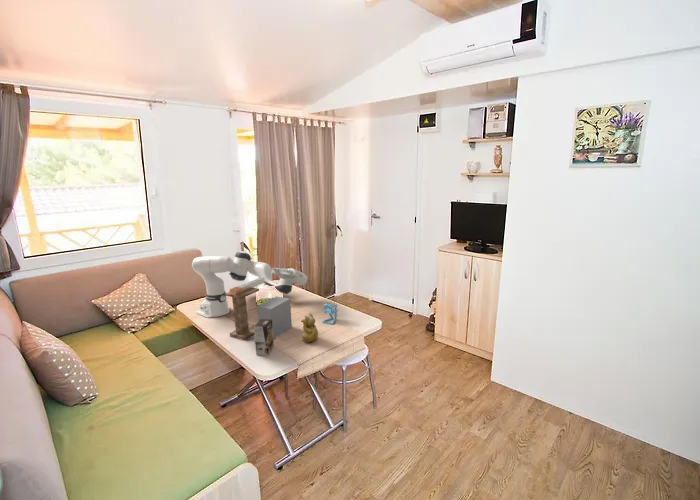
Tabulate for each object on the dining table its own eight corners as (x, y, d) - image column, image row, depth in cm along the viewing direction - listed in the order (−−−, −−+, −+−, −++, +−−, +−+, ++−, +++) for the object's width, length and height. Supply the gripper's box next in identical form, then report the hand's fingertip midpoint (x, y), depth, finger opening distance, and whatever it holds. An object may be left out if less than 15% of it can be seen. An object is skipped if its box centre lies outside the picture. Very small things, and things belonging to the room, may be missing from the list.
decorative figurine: (308, 335, 201) (307, 310, 197) (321, 337, 198) (320, 312, 194) (300, 343, 192) (298, 317, 189) (313, 345, 189) (312, 319, 186)
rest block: (259, 335, 202) (256, 306, 198) (278, 324, 217) (276, 296, 213) (273, 339, 197) (270, 309, 193) (291, 327, 212) (289, 298, 208)
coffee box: (267, 356, 180) (265, 326, 176) (255, 355, 181) (253, 325, 177) (274, 347, 188) (272, 319, 185) (263, 346, 190) (261, 318, 186)
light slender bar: (230, 294, 195) (229, 289, 194) (260, 281, 215) (259, 277, 214) (235, 295, 193) (235, 290, 192) (265, 282, 213) (265, 278, 212)
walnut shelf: (230, 336, 202) (225, 293, 196) (247, 326, 214) (243, 286, 208) (245, 340, 197) (240, 296, 191) (262, 330, 209) (258, 288, 203)
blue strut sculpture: (339, 320, 220) (339, 301, 217) (332, 325, 213) (331, 306, 210) (329, 317, 224) (328, 299, 221) (321, 322, 217) (321, 304, 214)
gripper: (303, 281, 233) (291, 276, 221) (278, 277, 242) (265, 272, 230) (305, 272, 234) (293, 266, 222) (280, 268, 244) (268, 263, 232)
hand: (279, 269), depth 226 cm, fingers open, 8 cm apart
